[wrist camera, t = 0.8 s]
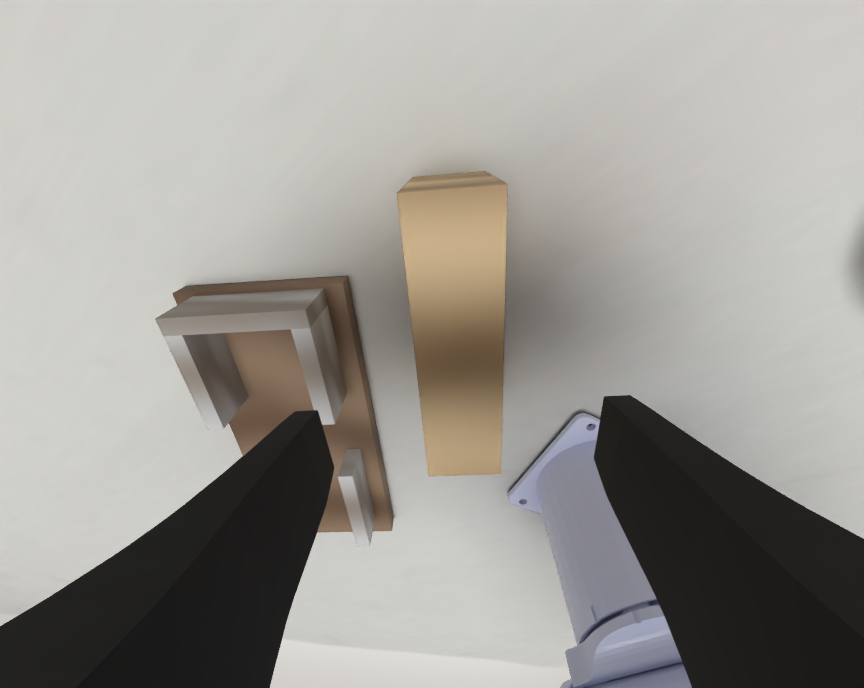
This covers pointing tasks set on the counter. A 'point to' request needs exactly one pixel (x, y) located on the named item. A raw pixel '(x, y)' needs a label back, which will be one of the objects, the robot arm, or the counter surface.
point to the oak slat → (457, 315)
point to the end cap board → (286, 379)
